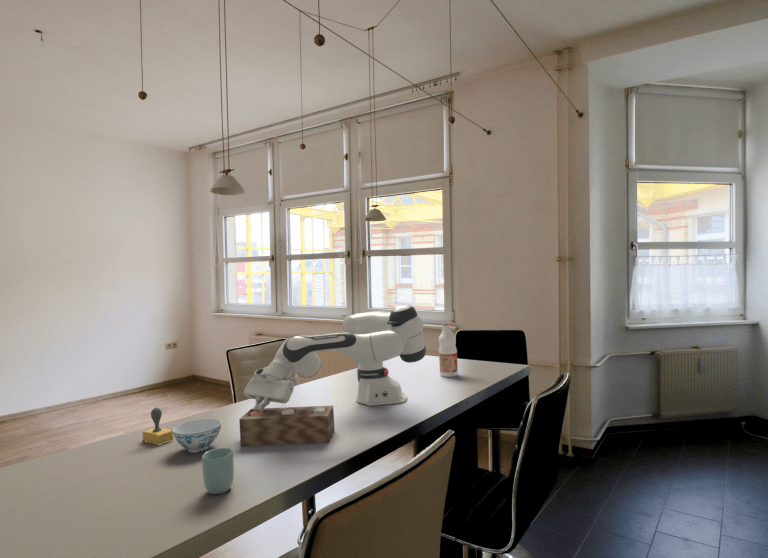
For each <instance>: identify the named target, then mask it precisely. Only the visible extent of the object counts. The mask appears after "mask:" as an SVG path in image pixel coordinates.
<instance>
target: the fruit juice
mask: <svg viewBox="0 0 768 558" xmlns="http://www.w3.org/2000/svg"><path fill="white" fill-rule="evenodd" d="M451 327H452V323H451V322H450V321H449V322H441V334H439V336H438V343H439V347H438V357H439V360H438V361H439V375H440V376H441V377H443V378H453V377H454V378H455V377H457V376H458V374H459V369H458V368H459V367H458V349H457V346H456V341H457V340H456V339H457V338H456V335H455V334H454V333H453V331H452V328H451Z"/></svg>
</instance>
